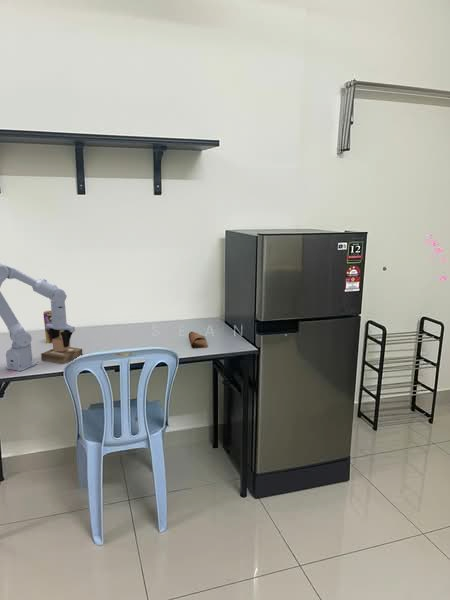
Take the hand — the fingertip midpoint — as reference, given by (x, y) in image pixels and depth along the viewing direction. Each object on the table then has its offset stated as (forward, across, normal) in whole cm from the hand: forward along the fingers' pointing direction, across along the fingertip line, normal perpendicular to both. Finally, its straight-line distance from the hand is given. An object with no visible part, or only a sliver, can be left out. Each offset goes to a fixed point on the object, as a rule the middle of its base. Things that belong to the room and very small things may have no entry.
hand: (61, 346), depth 194 cm
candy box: (+6, +20, -18) cm, 27 cm away
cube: (+2, 0, 0) cm, 2 cm away
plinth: (+5, 0, 0) cm, 5 cm away
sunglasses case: (+6, -46, -42) cm, 63 cm away
